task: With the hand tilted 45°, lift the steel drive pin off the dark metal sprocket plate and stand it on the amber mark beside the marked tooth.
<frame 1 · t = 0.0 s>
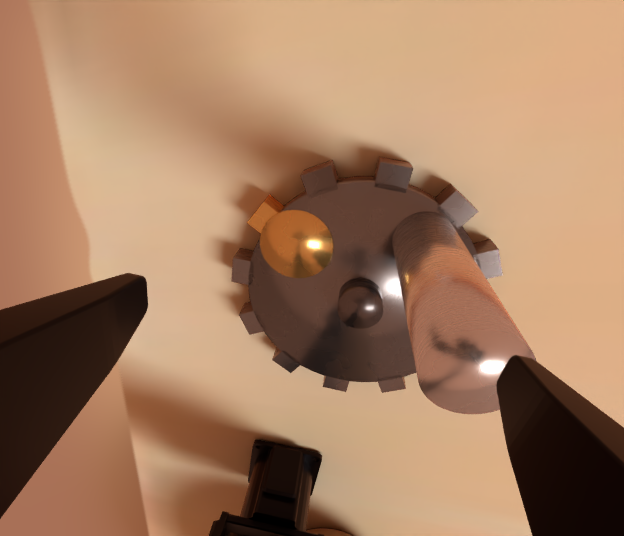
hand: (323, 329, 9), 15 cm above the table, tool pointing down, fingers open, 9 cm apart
drive pin: (423, 240, 21), point 1 cm above the table, touching sprocket plate
sprocket plate: (360, 285, 25), on the table
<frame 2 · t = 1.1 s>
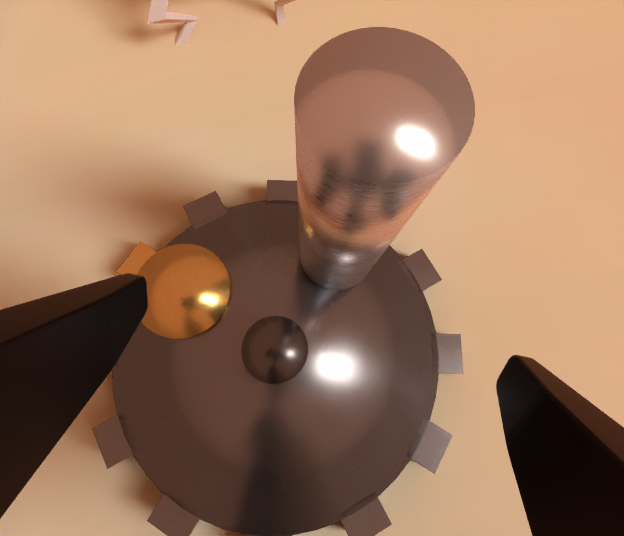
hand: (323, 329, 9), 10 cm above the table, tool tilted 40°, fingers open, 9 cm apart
drive pin: (336, 254, 18), point 1 cm above the table, touching sprocket plate
origami figure: (219, 10, 24), on the table
sprocket plate: (279, 350, 18), on the table
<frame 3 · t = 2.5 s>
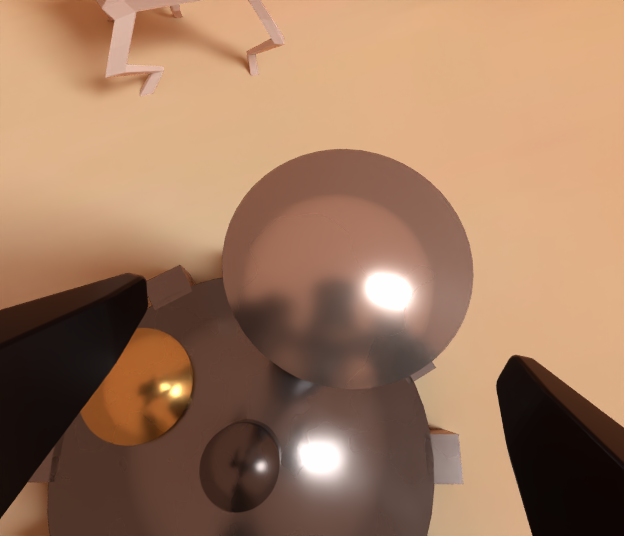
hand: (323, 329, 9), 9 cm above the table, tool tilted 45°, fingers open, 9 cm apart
drive pin: (315, 338, 16), point 1 cm above the table, touching sprocket plate
origami figure: (189, 58, 22), on the table
sprocket plate: (250, 450, 16), on the table
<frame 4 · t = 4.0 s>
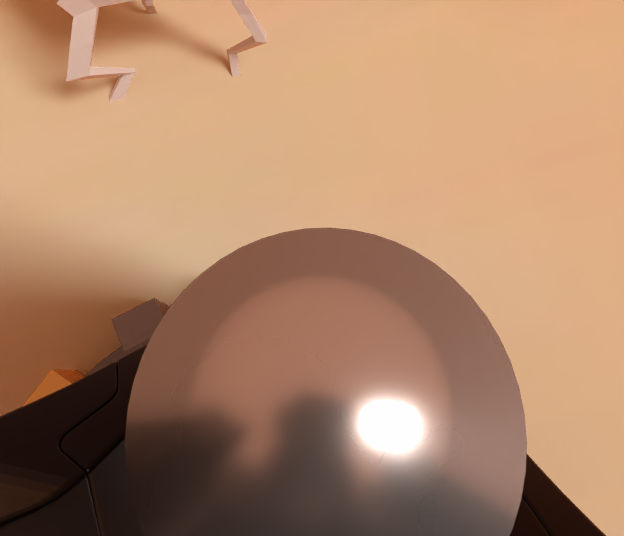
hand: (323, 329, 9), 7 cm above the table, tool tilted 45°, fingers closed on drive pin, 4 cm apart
drive pin: (306, 383, 14), point 2 cm above the table, touching gripper, sprocket plate
origami figure: (164, 58, 20), on the table
sprocket plate: (233, 509, 14), on the table
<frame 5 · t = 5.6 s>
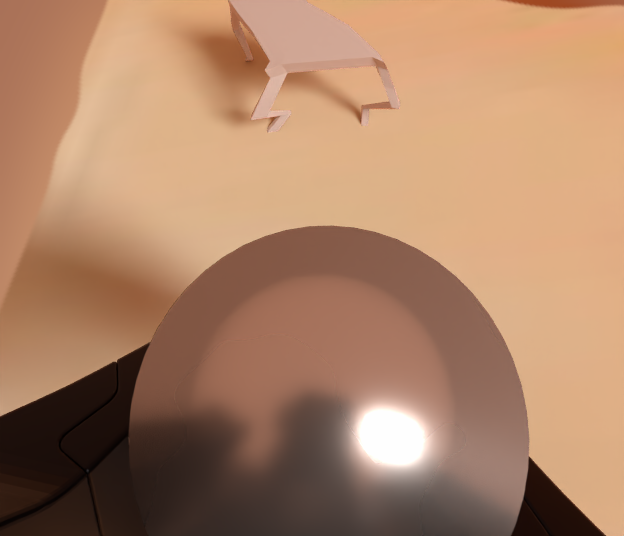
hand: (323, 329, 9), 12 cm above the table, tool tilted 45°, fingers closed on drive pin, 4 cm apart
drive pin: (307, 383, 14), point 7 cm above the table, touching gripper
origami figure: (309, 103, 26), on the table
when the fingers open (9 cm above the table, at t = 7.4 s): drive pin drops 1 cm, resting on sprocket plate.
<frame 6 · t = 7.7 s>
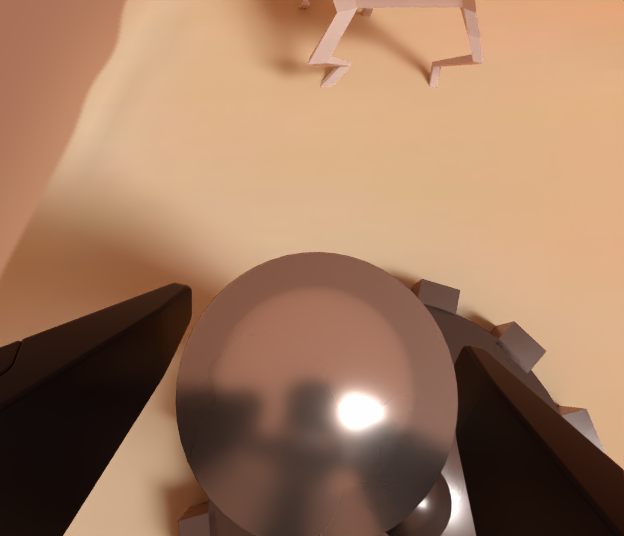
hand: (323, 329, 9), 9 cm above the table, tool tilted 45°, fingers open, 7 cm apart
drive pin: (306, 383, 15), point 2 cm above the table, touching sprocket plate
origami figure: (370, 58, 23), on the table
sprocket plate: (391, 476, 16), on the table
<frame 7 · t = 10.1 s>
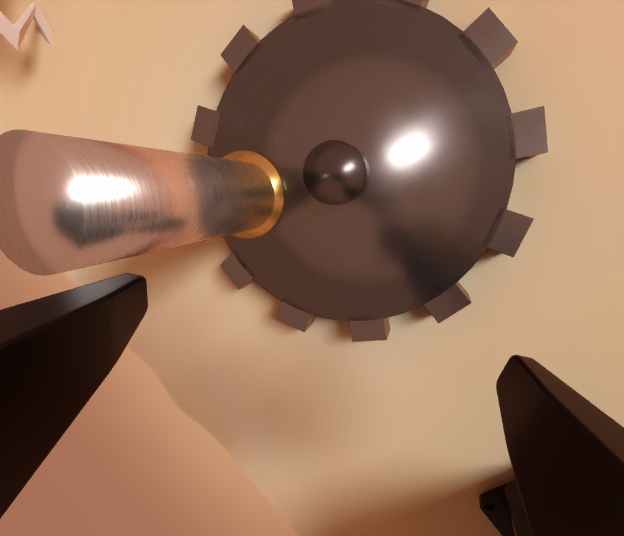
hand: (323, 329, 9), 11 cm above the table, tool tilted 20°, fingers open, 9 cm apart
drive pin: (244, 196, 19), point 2 cm above the table, touching sprocket plate
sprocket plate: (348, 175, 19), on the table
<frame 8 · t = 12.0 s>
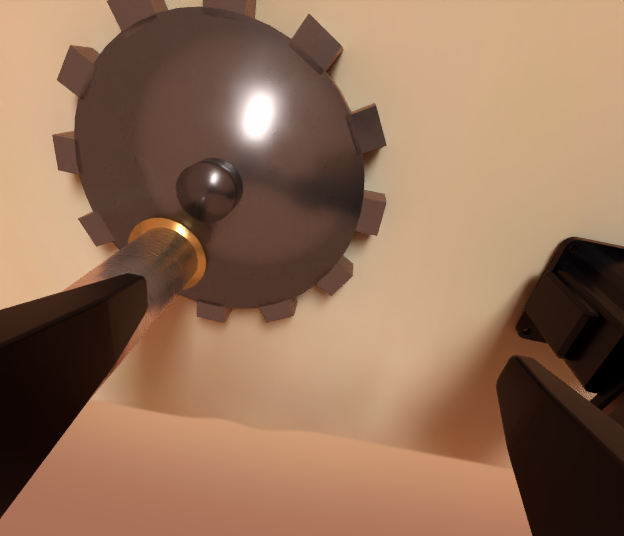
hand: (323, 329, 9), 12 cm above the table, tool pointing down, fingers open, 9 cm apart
drive pin: (167, 256, 21), point 2 cm above the table, touching sprocket plate
sprocket plate: (226, 178, 20), on the table
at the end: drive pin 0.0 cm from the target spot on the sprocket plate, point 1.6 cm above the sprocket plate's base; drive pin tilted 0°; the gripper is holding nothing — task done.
